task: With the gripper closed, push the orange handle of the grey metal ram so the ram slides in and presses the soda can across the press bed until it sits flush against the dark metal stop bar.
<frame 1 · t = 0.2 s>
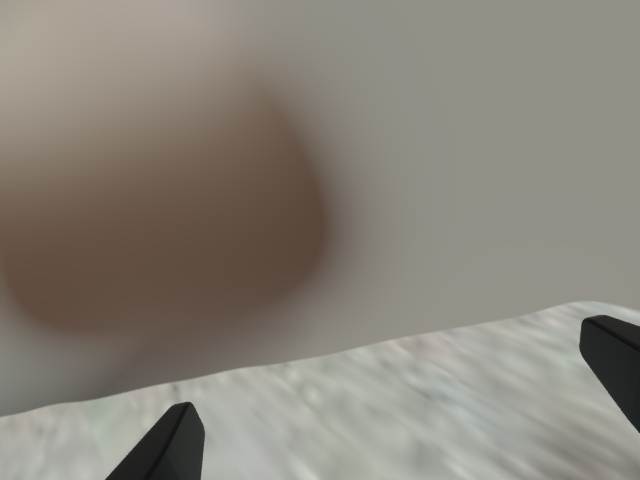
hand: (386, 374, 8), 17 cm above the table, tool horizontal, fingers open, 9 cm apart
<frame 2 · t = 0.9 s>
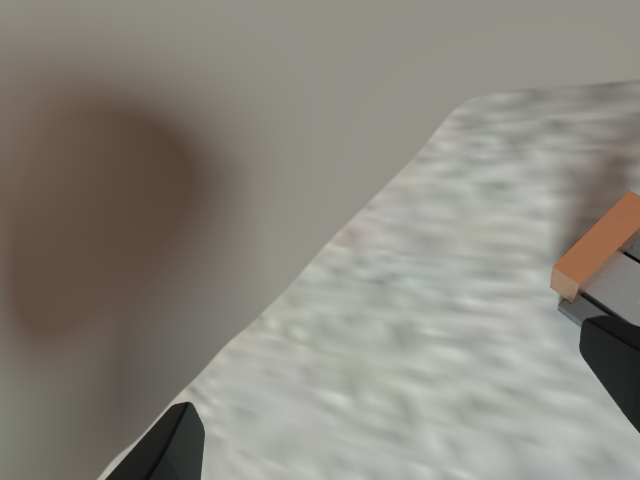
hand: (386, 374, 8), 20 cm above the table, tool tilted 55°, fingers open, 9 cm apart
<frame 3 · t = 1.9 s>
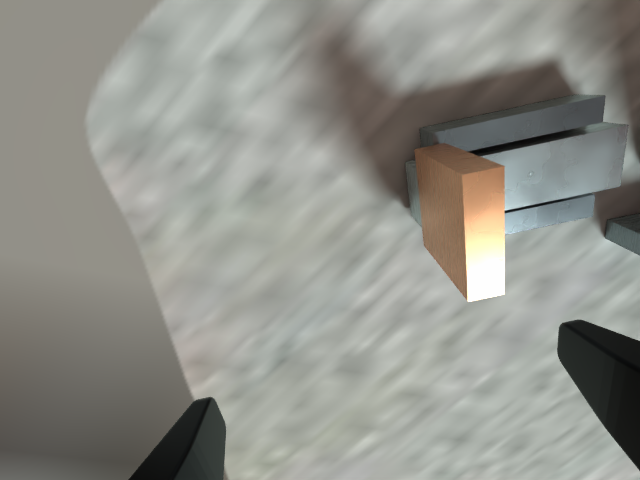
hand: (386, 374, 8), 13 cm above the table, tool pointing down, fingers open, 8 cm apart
ram: (542, 187, 16), point 4 cm above the table, slide at 0.0 cm
ram guide: (497, 168, 20), on the table
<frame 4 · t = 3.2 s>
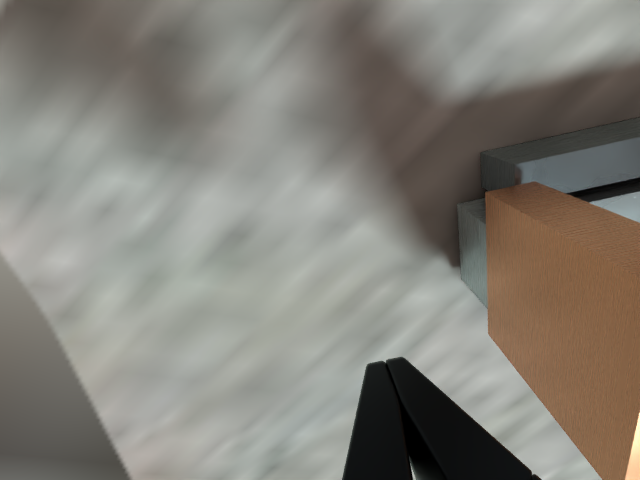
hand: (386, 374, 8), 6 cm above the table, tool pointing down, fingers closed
ram guide: (591, 210, 13), on the table
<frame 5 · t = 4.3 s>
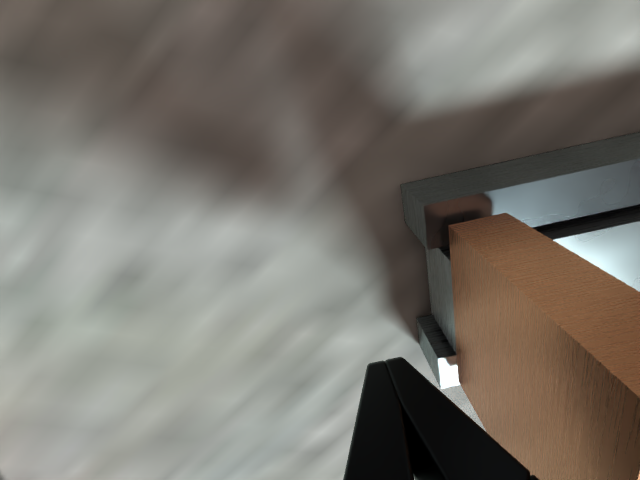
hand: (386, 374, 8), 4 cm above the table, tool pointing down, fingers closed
ram guide: (533, 246, 12), on the table
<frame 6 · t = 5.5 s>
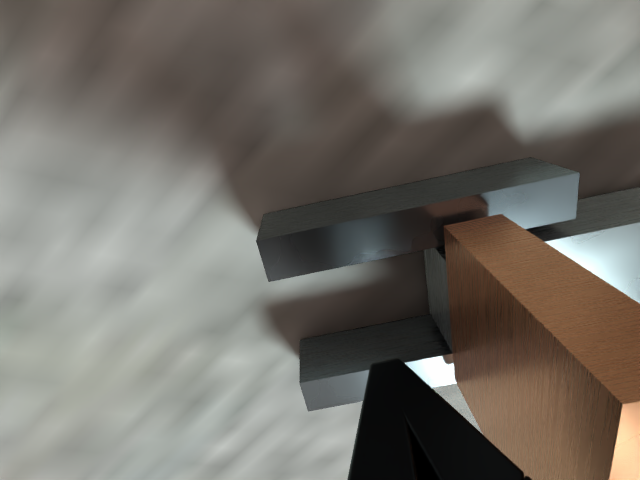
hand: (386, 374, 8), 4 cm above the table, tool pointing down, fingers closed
ram guide: (406, 273, 12), on the table
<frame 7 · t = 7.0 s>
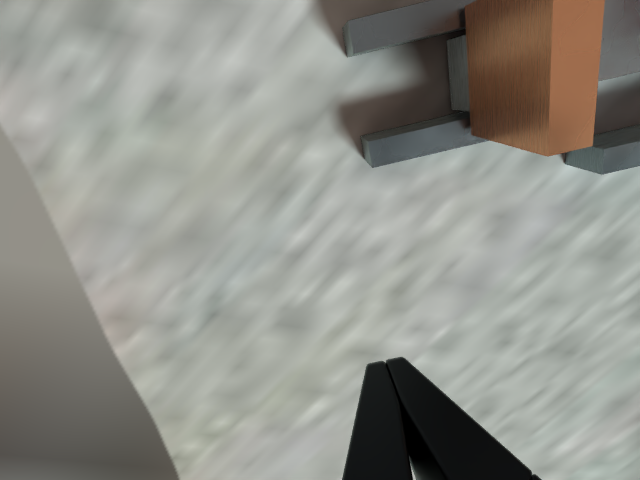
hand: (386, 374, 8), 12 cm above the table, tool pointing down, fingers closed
ram: (620, 41, 13), point 4 cm above the table, slide at 5.5 cm
ram guide: (436, 78, 17), on the table
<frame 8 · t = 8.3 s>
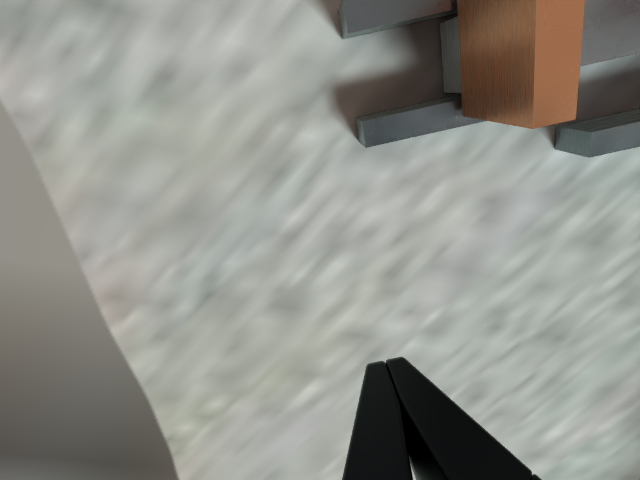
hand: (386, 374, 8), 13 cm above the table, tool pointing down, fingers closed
ram: (605, 23, 14), point 4 cm above the table, slide at 5.5 cm
ram guide: (429, 62, 18), on the table
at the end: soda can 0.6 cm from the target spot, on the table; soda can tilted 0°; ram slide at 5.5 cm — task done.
